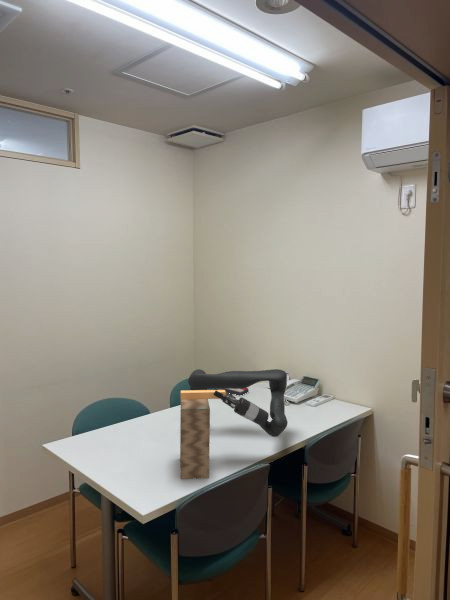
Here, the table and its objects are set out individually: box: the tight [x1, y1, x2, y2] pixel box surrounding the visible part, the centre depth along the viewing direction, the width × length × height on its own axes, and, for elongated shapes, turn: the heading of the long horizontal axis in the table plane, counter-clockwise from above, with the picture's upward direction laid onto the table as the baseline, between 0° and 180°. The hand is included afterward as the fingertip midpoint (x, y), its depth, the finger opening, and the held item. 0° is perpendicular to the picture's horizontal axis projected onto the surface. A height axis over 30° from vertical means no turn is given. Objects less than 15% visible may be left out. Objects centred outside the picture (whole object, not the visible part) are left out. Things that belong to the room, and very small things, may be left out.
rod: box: [180, 389, 226, 400], centre depth 200 cm, size 20×4×3 cm, turn 96°
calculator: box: [222, 387, 249, 396], centre depth 311 cm, size 11×4×15 cm
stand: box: [179, 398, 211, 480], centre depth 196 cm, size 12×20×30 cm, turn 6°
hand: (214, 391), depth 200 cm, fingers closed on rod, 3 cm apart
